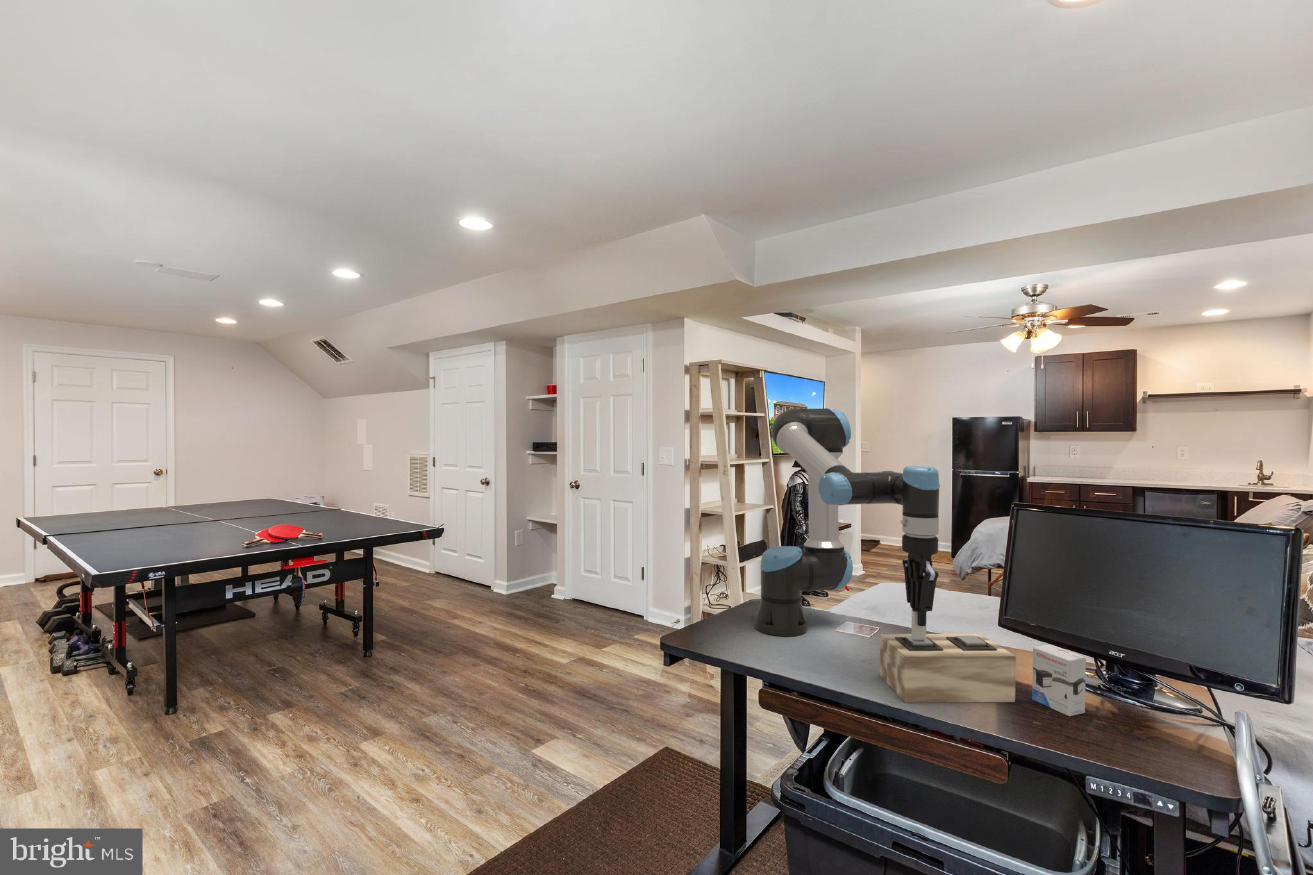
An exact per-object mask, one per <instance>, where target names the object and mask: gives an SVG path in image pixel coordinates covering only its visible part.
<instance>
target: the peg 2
mask: <svg viewBox="0 0 1313 875" xmlns="http://www.w3.org/2000/svg"><path fill="white" fill-rule="evenodd" d="M956 641H957V642H958V643H960V644H961V645H963V646H964V647H986V642H984V641H982V640H981V639H979V638H978V637H976V636H956Z"/></svg>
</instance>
